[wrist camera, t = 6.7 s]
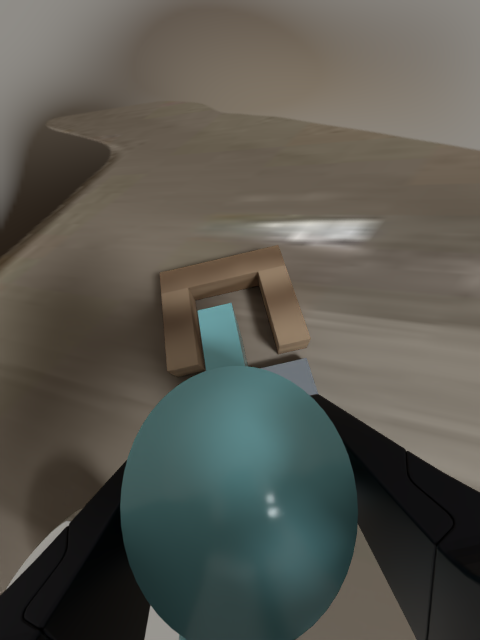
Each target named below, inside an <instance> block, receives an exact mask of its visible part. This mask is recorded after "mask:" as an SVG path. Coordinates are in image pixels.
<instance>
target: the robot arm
mask: <svg viewBox="0 0 480 640" xmlns="http://www.w3.org/2000/svg"><path fill="white" fill-rule="evenodd" d="M310 396H311V397H312V398H313V399H314V400H315V401H316V402H317V403H318V405H319V406H320V407H321V408H322V409H323V410H324V411H325V413H326V414H327V416H328V417H329V419H330V420H331V421H332V423H333V424H334V426H335V428H336V430H337V432H338V433H339V435H340V437H341V439H342V441H343V444H344V446H345V448H346V451H347V453H348V456H349V459H350V463H351V466H352V470H353V473H354V479H355V485H356V490H357V503H358V522H357V523H358V525H359V527H360V529H361V531H362V533H363V535H364V537H365V539H366V541H367V543H368V545H369V546H370V548H371V550H372V552H373V554H374V556H375V558H376V560H377V562H378V564H379V566H380V568H381V570H382V572H383V574H384V576H385V578H386V580H387V582H388V584H389V586H390V588H391V590H392V592H393V594H394V596H395V598H396V599H397V601H398V603H399V605H400V607H401V609H402V611H403V613H404V615H405V617H406V619H407V621H408V623H409V625H410V627H411V629H412V631H413V633H414V635H415V637H416V639H417V640H480V492H478V491H476V490H474V489H472V488H471V487H469V486H467V485H465V484H463V483H461V482H460V481H458V480H456V479H454V478H452V477H451V476H449V475H447V474H445V473H443V472H442V471H440V470H438V469H437V468H435V467H433V466H432V465H430V464H428V463H427V462H425V461H424V460H422V459H420V458H419V457H417V456H416V455H414V454H412V453H411V452H409V451H406V450H405V449H404V448H403V447H401V446H400V445H398V444H396V443H395V442H393V441H392V440H390V439H388V438H387V437H385V436H384V435H382V434H381V433H379V432H377V431H376V430H374V429H373V428H371V427H369V426H368V425H366V424H365V423H363V422H362V421H360V420H358V419H357V418H355V417H354V416H352V415H351V414H349V413H347V412H346V411H344V410H343V409H341V408H339V407H338V406H336V405H335V404H333V403H332V402H330V401H328V400H327V399H325V398H324V397H322V396H321V395H319V394H314V395H310ZM126 463H127V460H126V461H125V463H124V464H123V465H122V466H121V467H120V468H119V469H118V470H117V471H116V472H115V474H114V475H113V476H112V477H111V478H110V479H109V480H108V481H107V482H106V483H105V485H104V486H103V487H102V488H101V489H100V490H99V491H98V492H97V493H96V494H95V496H94V497H93V498H92V499H91V500H90V501H89V502H88V503H87V504H86V505H85V507H84V508H83V509H82V510H81V511H80V512H79V513H78V514H77V515H76V516H75V517H74V519H73V520H72V521H71V522H70V523H69V526H66V527H65V528H64V530H63V531H62V532H61V533H60V534H59V535H58V536H57V537H56V538H55V539H54V540H53V542H52V543H51V544H50V545H49V546H48V547H47V548H46V549H45V550H44V551H43V552H42V553H41V554H40V555H39V557H38V558H37V559H36V560H35V561H34V562H33V563H32V564H31V565H30V566H29V567H28V568H27V569H26V570H25V571H24V572H23V573H22V574H21V575H20V576H19V577H18V578H17V579H16V580H15V581H14V582H13V583H12V584H11V585H10V586H9V587H8V588H7V589H6V590H5V591H4V592H3V593H2V594H1V595H0V640H144V639H145V634H146V628H147V622H148V617H149V611H150V604H149V602H148V601H147V600H146V598H145V596H144V594H143V593H142V591H141V589H140V587H139V585H138V584H137V582H136V579H135V577H134V574H133V572H132V569H131V567H130V564H129V561H128V558H127V554H126V550H125V546H124V541H123V535H122V528H121V512H120V503H121V488H122V482H123V476H124V470H125V467H126Z"/></svg>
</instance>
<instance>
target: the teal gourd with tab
mask: <svg viewBox="0 0 480 640" xmlns="http://www.w3.org/2000/svg"><path fill="white" fill-rule="evenodd" d="M198 317H199V324H200V331H201V338H202V345H203V352H204V359H205V366H206V371H205V372H202V373H200V374H197V375H195V376H193V377H191V378H189V379H187V380H186V381H184V382H182V383H181V384H179V385H178V386H177V387H175V388H174V389H173V390H171V391H170V392H169V393H168V394H167V395H166V396H165V397H164V398H163V399H162V400H161V401H160V402H159V403H158V404H157V405H156V407H155V408H154V409H153V410H152V411H151V413H150V414H149V415H148V417H147V419H146V420H145V422H144V423H143V425H142V426H141V428H140V430H139V432H138V434H137V436H136V438H135V440H134V443H133V445H132V448H131V450H130V453H129V456H128V459H127V463H126V467H125V470H124V476H123V482H122V488H121V503H120V512H121V528H122V535H123V541H124V546H125V550H126V554H127V558H128V561H129V564H130V567H131V569H132V572H133V574H134V577H135V579H136V582H137V584H138V585H139V587H140V589H141V591H142V593H143V594H144V596H145V598H146V600H147V601H148V602H149V604H150V605H151V606H152V608H153V609H154V610H155V612H156V613H157V614H158V616H159V617H160V618H161V619H162V620H163V621H164V622H165V623H166V624H167V625H168V626H169V627H170V628H171V629H173V630H174V631H176V632H177V633H178V634H180V635H181V636H182V637H184V638H185V639H187V640H295V639H297V638H298V637H299V636H301V635H302V634H303V633H304V632H306V631H307V630H308V629H309V628H311V627H312V626H313V625H314V624H315V623H316V622H317V621H318V619H319V618H320V617H321V616H322V615H323V614H324V613H325V612H326V611H327V609H328V608H329V606H330V604H331V603H332V601H333V600H334V598H335V597H336V595H337V594H338V592H339V590H340V588H341V585H342V583H343V581H344V579H345V577H346V575H347V572H348V569H349V566H350V562H351V559H352V556H353V552H354V546H355V541H356V535H357V522H358V503H357V490H356V485H355V479H354V473H353V470H352V466H351V463H350V459H349V456H348V453H347V451H346V448H345V446H344V444H343V441H342V439H341V437H340V435H339V433H338V432H337V430H336V428H335V426H334V424H333V423H332V421H331V420H330V419H329V417H328V416H327V414H326V413H325V411H324V410H323V409H322V408H321V407H320V406H319V405H318V403H317V402H316V401H315V400H314V399H313V398H312V397H311V396H310V395H308V394H307V393H306V392H305V391H304V390H303V389H301V388H300V387H299V386H297V385H296V384H294V383H293V382H291V381H290V380H288V379H286V378H284V377H282V376H280V375H278V374H275V373H273V372H270V371H267V370H264V369H259V368H255V367H248V364H247V359H246V355H245V350H244V346H243V341H242V337H241V334H240V331H239V327H238V324H237V320H236V317H235V313H234V310H233V306H232V303H228V304H224V305H220V306H215V307H211V308H207V309H202V310H198Z"/></svg>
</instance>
